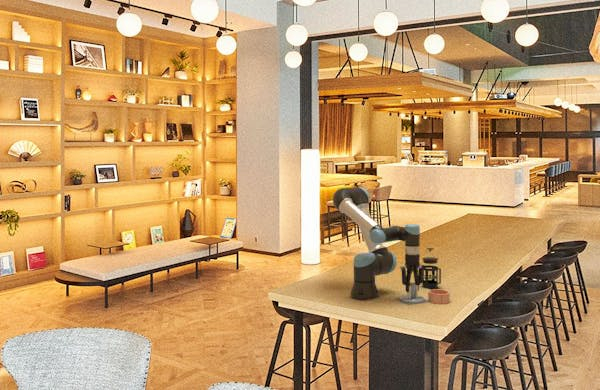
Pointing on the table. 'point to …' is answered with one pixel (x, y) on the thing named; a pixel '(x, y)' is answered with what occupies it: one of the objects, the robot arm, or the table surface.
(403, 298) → the lid
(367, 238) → the robot arm
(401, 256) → the table surface
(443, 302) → the bowl
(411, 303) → the mat
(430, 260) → the french press
